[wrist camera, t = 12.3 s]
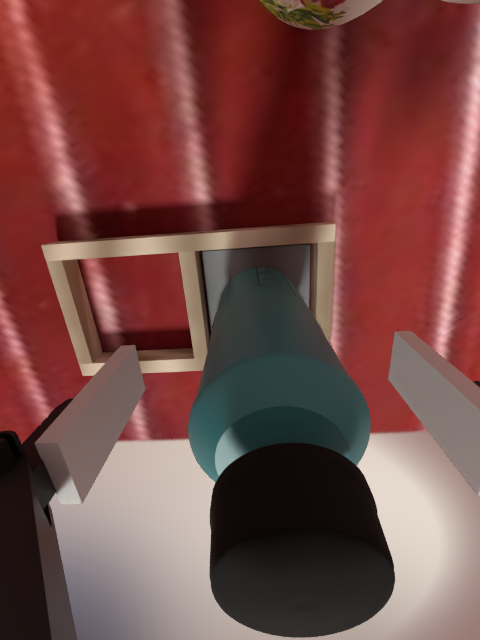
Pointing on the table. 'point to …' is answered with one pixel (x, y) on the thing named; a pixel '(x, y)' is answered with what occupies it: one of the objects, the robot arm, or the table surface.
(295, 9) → the pitcher
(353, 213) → the table surface
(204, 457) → the beverage bottle
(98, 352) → the bottle rack
